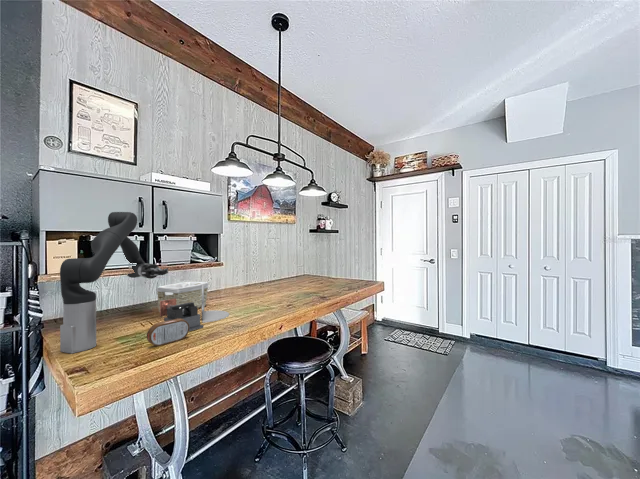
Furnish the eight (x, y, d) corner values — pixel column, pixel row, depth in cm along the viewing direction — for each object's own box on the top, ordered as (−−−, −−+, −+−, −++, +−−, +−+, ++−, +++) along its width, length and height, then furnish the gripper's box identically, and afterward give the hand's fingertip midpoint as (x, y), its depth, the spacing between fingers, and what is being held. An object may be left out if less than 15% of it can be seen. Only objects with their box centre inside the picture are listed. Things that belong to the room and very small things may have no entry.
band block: (160, 331, 120) (160, 305, 121) (192, 323, 132) (192, 300, 132) (171, 336, 114) (171, 309, 114) (203, 327, 125) (203, 302, 125)
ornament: (203, 312, 153) (202, 282, 153) (228, 309, 158) (227, 280, 158) (201, 323, 133) (201, 288, 133) (230, 320, 138) (230, 286, 138)
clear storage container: (188, 304, 174) (188, 280, 174) (209, 305, 169) (209, 281, 169) (155, 313, 151) (154, 286, 151) (178, 316, 146) (178, 288, 146)
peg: (159, 315, 129) (159, 300, 129) (175, 312, 135) (175, 298, 135) (175, 321, 120) (175, 305, 120) (191, 317, 125) (190, 302, 125)
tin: (187, 336, 114) (186, 315, 114) (190, 338, 112) (190, 317, 112) (146, 347, 103) (146, 324, 103) (149, 349, 101) (149, 326, 101)
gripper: (133, 264, 140) (148, 266, 129) (161, 262, 150) (176, 264, 140) (134, 279, 140) (148, 282, 129) (161, 276, 150) (177, 279, 140)
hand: (163, 272), depth 135 cm, fingers closed
